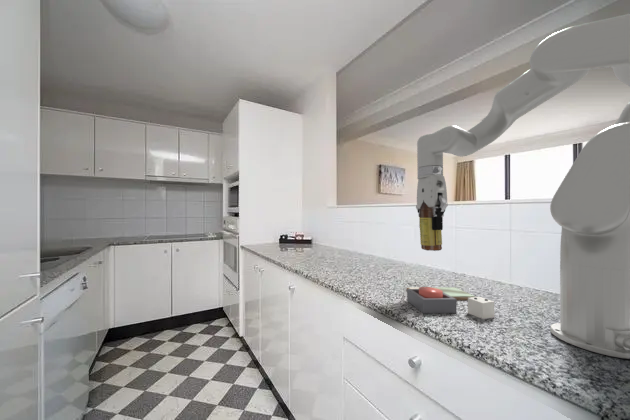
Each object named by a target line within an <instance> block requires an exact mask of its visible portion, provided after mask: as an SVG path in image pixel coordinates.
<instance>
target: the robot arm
mask: <svg viewBox="0 0 630 420" xmlns="http://www.w3.org/2000/svg"><path fill="white" fill-rule="evenodd" d="M529 57H530V58H529V66H530V69H528V70H526V71H525V72H524V73H522V74H521V75H520V76H518V77H517V78H516V79H514V80H512V81H511V82H510V83H508V84H507V85H506V86H504V87H503V88H501V89H500V90H499V91H497V92H496V93H495V95H494V97H493V100H492V105H491V108H490V111H489V112H488V114H487V115H486V116H485V117H484V118H483V119H482V120H481V121H480V122H479V123H477V124H475V125H474V126H473V127H471V128H470V129H468V130H466V129H464V128H462V127H460V126H457V125H449V126H448V125H447V126H445V127H443V128H441V129H439V130H437V131H435V132H433V133H429V134H424V135H421V136H420V137H418V139H417V143H416V147H417V150H416V151H417V154H416V155H417V156H416V157H417V170H416V171H417V173H416V175H417V178H416V179H417V180H418V181H417V188H416V206H415V208H416V211H417V213H418V215H419V214H420V207H421V205H422V203H423V200H424V202H425V203H426V205H427V206H428V207H429V208H431V209H432V213H433V216H434V217H432V230H441V231H442V230H443V228H444V225H443V221H444V220H443V219H444V218H443V217H444V216H445V212H446V209H447V207H448V205H449V204H448V191H447V183H446V179H445V176H444V153H445V154H448V155H449V154H450V155H454V156H457V157H462V158H463V157H467V156H470V155H472V154H474V153H477V152H478V151H480V150H482V149H484V147H486V146H489V145H490V144H491V143H493V142H495V141H496V140H497V139H498V138H500V137H501V136H502V135H503V134H504V133H505V132H507V130H508V129H509V128H510V127H512V125H513V124H514V123H515V122H516V121H517V120H519V119H520V118H521V117H523V116H524V115H526V114H528V113H529V112H531V111H532V110H535V109H536V108H537V107H540V106H541V105H542V104H544V103H546V102H548V101H549V100H551V99H553V98H554V97H556V96H557V95H559V94H560V93H562V92H563V91H565V90H567V89H569V88H570V87H572V86H574V85H575V84H577V83H578V82H579V81H581V80H582V79H583V78H585V77H586V76H587V75H588V74H589V72H590V71H591V70H597V69H606V68H607V69H608V68H611V69H612V71H613V74H614V76H615V78H616V79H617V80H618V81H620V82H621V83H622V84H625V85H627V86H628V87H630V13H626V14H623V15H622V14H621V15H617V16H613V17H609V18H604V19H599V20H595V21H591V22H586V23H582V24H578V25H574V26H570V27H567V28H564V29H562V30H560V31H559V30H558V31H557V32H554V33H552V34H551V35H549V36H547V37H546V38H545V39H543V40H541V42H539V44H537V45H536V47H535V48H534V49H533V51H532V52H531V54H530V56H529ZM423 188H424V192H422V189H423ZM435 206H438V207H435ZM549 206H550V207H549V209H550V214H551V217H552V219H553V220H554V221H555V222H556V223H557V224H558V225H559V226H561V232H560V248H559V249H560V251H559V255H560V257H559V259H560V260H559V280H560V281H559V295H560V296H559V305H560V306H559V307H560V308H559V321H560V322H557V323H552V324H550V329H549V330H550V332H551V334H552V335H553V336H555V337H556V338H557V339H559V340H561V341H563V342H565V343H568V344H569V345H573V346H575V347H576V348H577V347H578V348H580V349H582V350H583V349H584V350H586V351H590V352H592V353H596V354H600V355H604V356H605V355H606V356H608V357H613V358H619V359H627V360H630V100H629V101H628V102H627V104H626V105H625V107H624V108H623V110H622V111H621V113H620V115H619V117H618V119H617V121H616V122H615V123H614V125H611V126H608V127H606V128H605V129H603V130H601V131H599V132H597V133H596V134H594V135H593V136H592V137H591V138H590V139H589V140H588V141H587V142H586V143H585V144H584V146H583V147H582V148H581V150H580V152H579V154H578V155H577V157H576V159H575V160H574V162H573V164H572V165H571V167H570V168H569V170H568V172H567V173H566V174H565V177H564V178H563V180H562V182H561V183H560V185H559V187H558V188H557V190H556V191H555V193H554V194H553V197H552V199H551V202H550V205H549ZM436 210H437V211H436ZM418 225H419V226H418V227H420V219H419V224H418Z"/></svg>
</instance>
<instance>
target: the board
mask: <svg viewBox="0 0 630 420" xmlns="http://www.w3.org/2000/svg"><path fill="white" fill-rule="evenodd" d="M420 287H421V286H420ZM420 287H419V286H417V287H415V286H414V287H413V286H412V287H406V291H407V289H419V288H420ZM432 288H437V289H440V290H442V291H443V293H445V294H447V295H449V296H451V297H453V298H455V299H457V301H468V298H471V297H477V296H475V295H473V294H471V293H469V292H467V291H464V290H462V289H460V288H458V287H454V286H451V287H447V286H446V287H445V286H444V287H432Z"/></svg>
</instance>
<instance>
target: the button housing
mask: <svg viewBox="0 0 630 420" xmlns="http://www.w3.org/2000/svg"><path fill="white" fill-rule="evenodd" d="M406 289H407V288H406ZM406 292H407V293H406V295H407V296H406V302H408V303H410V305H412V306H413V307H415V308H416V309H417V310H419V312H421V313H422V314H457V313H458V312H457V309H458V308H457V306H458V305H457V302H458V300H457V299H455V298H453V297H451V296H449V295H447V294H445V293H443V298H424V297H422V296H421V295H419V289H407V290H406Z"/></svg>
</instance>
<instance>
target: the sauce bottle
mask: <svg viewBox="0 0 630 420" xmlns="http://www.w3.org/2000/svg"><path fill="white" fill-rule="evenodd" d="M422 192H424V188H423V189H422ZM435 207H438V206H435ZM436 211H437V210H436ZM418 217H419V219H420V226H419V236H420V247H421V249H422V250H425V251H432V252H433V251H434V252H436V251H437V252H438V251H441V250H442V249H443V247H442V245H443V236H442V230H432V217H434V216H433V213H432V209H431V208H429V207H428V206H427V205H426V203H425V202H424V200H423V203H422V205H421V207H420V214H419V213H418Z"/></svg>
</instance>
